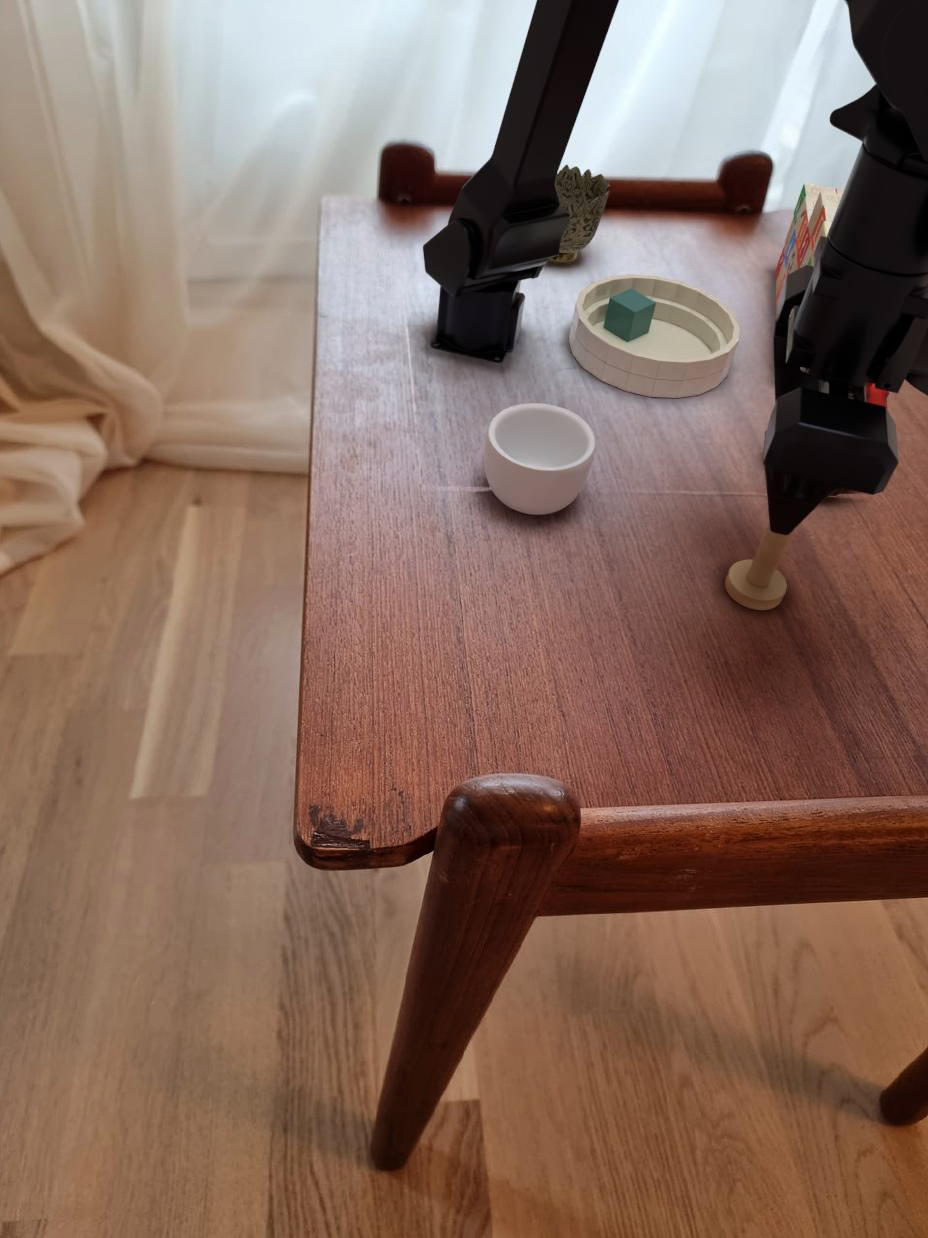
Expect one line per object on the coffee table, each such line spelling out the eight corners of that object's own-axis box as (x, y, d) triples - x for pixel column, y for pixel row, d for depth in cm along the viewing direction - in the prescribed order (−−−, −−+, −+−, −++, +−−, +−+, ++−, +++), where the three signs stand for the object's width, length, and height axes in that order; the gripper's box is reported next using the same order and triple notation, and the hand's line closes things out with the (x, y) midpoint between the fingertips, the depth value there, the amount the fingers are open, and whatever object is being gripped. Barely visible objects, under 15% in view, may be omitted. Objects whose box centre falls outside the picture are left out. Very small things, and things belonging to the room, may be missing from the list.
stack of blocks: (772, 271, 101) (815, 148, 92) (833, 283, 100) (882, 160, 91) (775, 384, 86) (827, 251, 77) (847, 398, 86) (907, 266, 77)
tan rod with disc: (719, 598, 67) (777, 458, 58) (730, 562, 70) (787, 422, 61) (776, 618, 66) (844, 478, 58) (786, 580, 69) (852, 442, 60)
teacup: (562, 543, 69) (575, 483, 65) (462, 508, 71) (470, 448, 67) (604, 466, 76) (618, 407, 72) (512, 435, 77) (521, 376, 74)
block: (627, 342, 88) (635, 312, 86) (602, 327, 89) (609, 297, 87) (648, 332, 89) (656, 302, 87) (624, 317, 91) (631, 287, 88)
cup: (524, 237, 101) (536, 158, 95) (595, 248, 101) (611, 169, 95) (517, 272, 96) (529, 190, 90) (592, 284, 95) (608, 202, 90)
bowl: (554, 380, 83) (562, 338, 81) (583, 301, 93) (591, 261, 90) (719, 418, 82) (734, 377, 79) (732, 334, 92) (745, 294, 89)
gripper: (1075, 379, 43) (920, 621, 54) (1021, 206, 56) (904, 432, 67) (820, 323, 44) (721, 571, 56) (824, 167, 57) (742, 395, 68)
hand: (781, 485), depth 62 cm, fingers open, 9 cm apart
